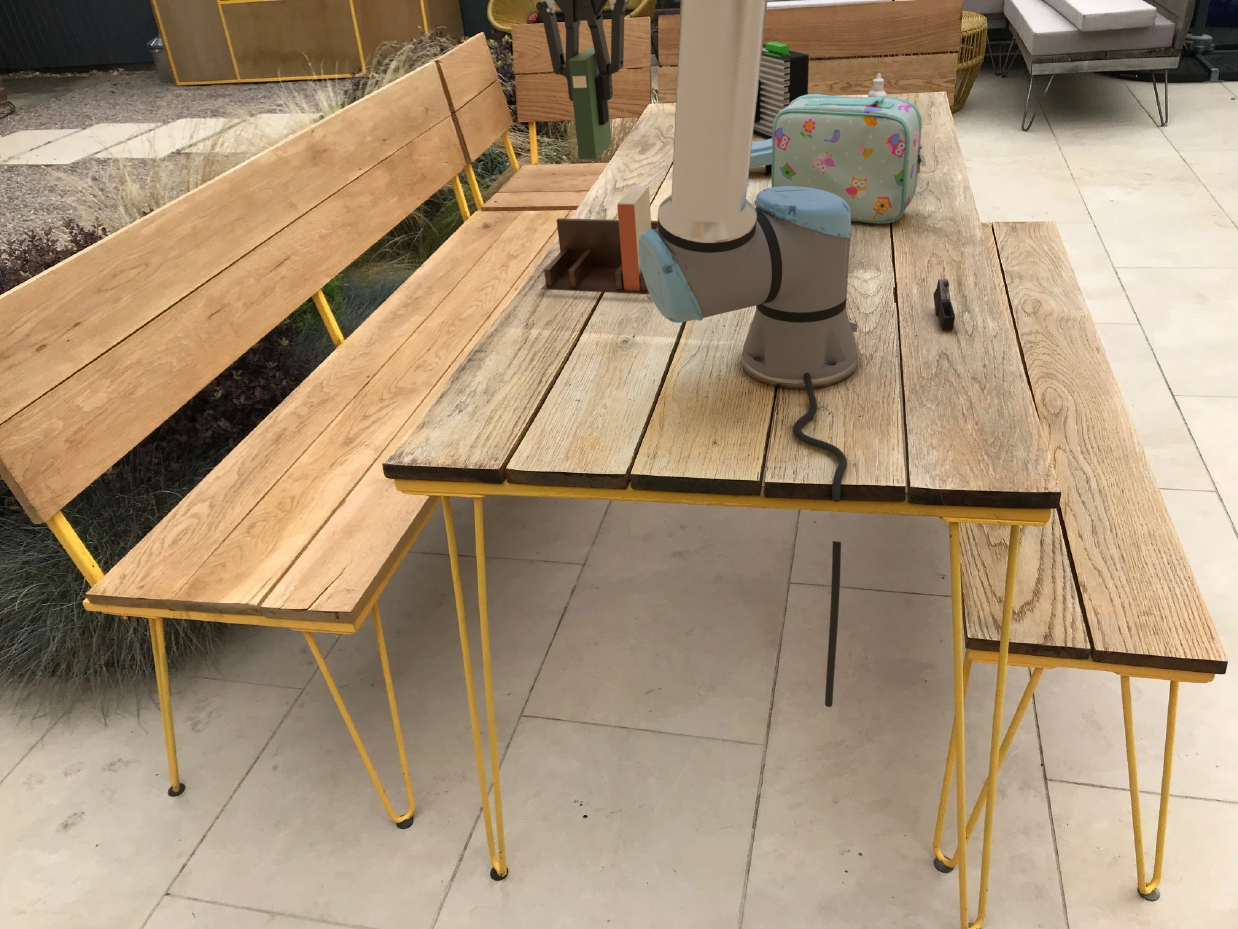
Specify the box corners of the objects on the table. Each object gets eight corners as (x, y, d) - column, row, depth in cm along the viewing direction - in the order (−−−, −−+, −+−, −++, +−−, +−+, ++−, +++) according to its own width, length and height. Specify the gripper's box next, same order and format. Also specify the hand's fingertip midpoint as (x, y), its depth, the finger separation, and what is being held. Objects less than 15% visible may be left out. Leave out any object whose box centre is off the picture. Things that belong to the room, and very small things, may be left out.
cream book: (639, 290, 151) (633, 203, 143) (624, 289, 151) (617, 203, 144) (654, 269, 157) (649, 185, 150) (638, 269, 158) (633, 185, 151)
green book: (595, 159, 141) (586, 58, 133) (578, 160, 142) (568, 59, 134) (612, 144, 148) (603, 47, 140) (595, 144, 148) (586, 48, 141)
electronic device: (710, 123, 238) (708, 37, 227) (747, 116, 242) (747, 31, 231) (771, 147, 216) (772, 53, 205) (811, 138, 220) (814, 45, 209)
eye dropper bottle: (865, 130, 222) (869, 76, 215) (866, 124, 226) (869, 71, 220) (885, 130, 221) (889, 75, 214) (884, 123, 226) (888, 70, 219)
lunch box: (924, 212, 173) (937, 89, 162) (908, 231, 166) (919, 103, 155) (787, 198, 186) (789, 83, 174) (766, 215, 179) (767, 96, 167)
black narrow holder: (953, 340, 136) (960, 321, 131) (938, 341, 136) (945, 321, 131) (947, 293, 139) (954, 272, 134) (932, 293, 139) (939, 273, 134)
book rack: (650, 301, 150) (646, 245, 145) (541, 295, 155) (534, 241, 150) (667, 274, 159) (664, 220, 153) (564, 269, 164) (558, 217, 159)
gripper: (639, -62, 131) (650, 115, 143) (532, -54, 135) (552, 117, 148) (624, -57, 125) (637, 128, 137) (513, -48, 129) (536, 130, 142)
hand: (593, 122), depth 142 cm, fingers closed on green book, 3 cm apart
